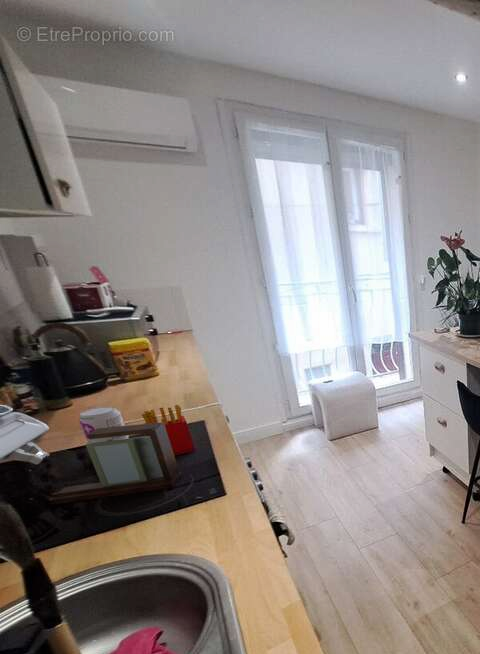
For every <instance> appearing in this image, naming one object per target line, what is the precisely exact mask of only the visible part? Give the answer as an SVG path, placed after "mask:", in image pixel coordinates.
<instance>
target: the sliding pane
mask: <svg viewBox="0 0 480 654" xmlns="http://www.w3.org/2000/svg"><path fill="white" fill-rule="evenodd" d="M131 438H132V439H123V440H114V441H104V442H95V443H88V442H87V443H86V444H85V446H86V450H87V452H88V455H89V456H90V459H91V462H92V465H93V467H94V470H95V472H96V474H97V476H98V480H99V483H100V482H101V484H102V487H104V486H111V485H119V484H126V483H133V482H141V481H148V477H147V474H146V471H145V468H144V465H143V462H142V460H141V457H140V454H139V451H138V448H137V445H136V443H135V440H134V438H135V437H131Z"/></svg>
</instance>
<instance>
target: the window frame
mask: <svg viewBox="0 0 480 654" xmlns="http://www.w3.org/2000/svg"><path fill="white" fill-rule="evenodd" d="M147 433H149V435H150V436H148V435H147ZM127 435H128V436H135V435H146V436H138V437H137V436H136V437H129V438H128V439H132V438H134V440H135V443H136V445H137V448H138V451H139V454H140V457H141V460H142V462H143V465H144V468H145V471H146V474H147V477H148V481H141V482H133V483H126V484H119V485H111V486H104V487H102V484H101V482H100V481H99V482H94V483H86V484H79V485H77V484H76V485H70V486H65V487H63V488H62V489H61V490H59V491H58V492H53V493H51V494H50V496H51V497H50V499H49V503H50V505H51V506H53V505H62V504H68V503H74V502H73V501H75V502H79V501H78V500H82V501H87V500H86V499H89V500H95V499H94V498H96V499H101V498H100V497H103V498H110V497H117V496H124V495H131V494H137V493H144V492H145V493H146V492H151V491H159V490H165V489H172V488H174V487H175V486H176V484H177V483H178V482H179V481H180V479H181V478H182V472H181V471H180V469H179V466H178V463H177V460H176V456H174V453H173V450H172V447H171V444H170V441H169V438H168V434H167V431H166V428H165V425H164V423H161V422H158V423H149V424H144V423H139V424H131V425H125V426H119V427H108V428H98V429H95V430H94V431H93V432H91V433H90V434H88V435H87V436H88V438H89V439H98V438H107V437H117V436H127ZM118 440H123V439H118ZM107 441H114V440H113V439H109V440H107ZM109 496H110V497H109Z"/></svg>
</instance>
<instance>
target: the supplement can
mask: <svg viewBox="0 0 480 654" xmlns="http://www.w3.org/2000/svg"><path fill="white" fill-rule="evenodd" d="M78 421H79V423H80V426H81V429H82V431H83V433H84V436H85V439H86V441H87V443H95V442H104V441H107V440H109V439H113V440H118V439H128V438H130V437H129V436H130V435H127V436H117V437H107V438H98V439H89V438H88V436H87V435H88V434H90V433H91V432H93V431H94V430H95V429H98V428H108V427H119V426H126V425H125V421H124V419H123V418H122V414H121V412H120V411H119V410H118V409H116V407H114V406H98V407H94V408H90V409H89V408H88V409H87V410H83V411H82V412H80V415H79V419H78Z"/></svg>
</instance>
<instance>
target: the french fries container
mask: <svg viewBox="0 0 480 654" xmlns="http://www.w3.org/2000/svg"><path fill="white" fill-rule="evenodd" d="M158 409H159V411H160V415H161V419H160V420H161V421H160V423H164V425H165V428H166V431H167V434H168V438H169V441H170V444H171V447H172V450H173V453H174V456H175V457H176V456H179V455H184V454H187V453H191V452H195V451H196V447H195V445H194V442H193V439H192V435H191V431H190V428H189V426H188V421H187V419H186V417H185V416H184V415H182V407H181V406H180V404H175V405H174V409H175V414H176V418H175V414H174V411H173V409H172V407H171V406H170V407H167V411H168V414H169V418H170V420H169V419H168V417H167V414H166V411H165V407H163V406H162V407H159V408H158ZM141 417H142V418H143V420H144V421H145V423H143V424H149V423H159V420H158V416H157V415H156V412H155V410H154V409H150V410H145V411H144V412H143V413H142V414H141ZM146 436H150V435H149V433H146Z"/></svg>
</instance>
